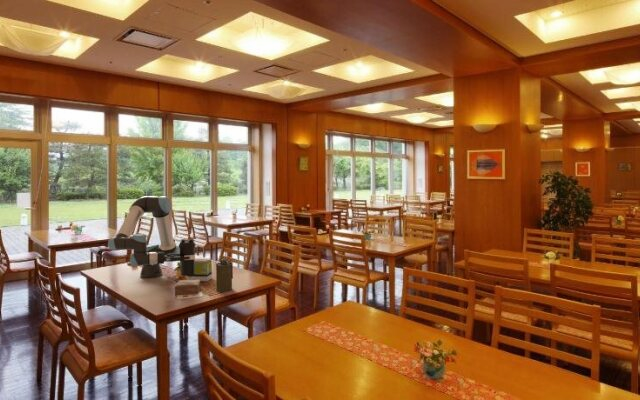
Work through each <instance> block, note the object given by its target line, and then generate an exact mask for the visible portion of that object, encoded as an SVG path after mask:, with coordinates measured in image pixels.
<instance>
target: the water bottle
mask: <svg viewBox="0 0 640 400" xmlns="http://www.w3.org/2000/svg"><path fill="white" fill-rule="evenodd" d="M178 246H179V249H180V256H186V255H195V256H196V242H195V240H194V238H191V239H189V238H181V239H180V242H179V244H178ZM195 259H196V258H195ZM195 259H193V260H184V261H179V267H180V276H183V277H187V276H191V275H194V274H195Z"/></svg>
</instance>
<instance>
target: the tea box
mask: <svg viewBox="0 0 640 400" xmlns="http://www.w3.org/2000/svg"><path fill="white" fill-rule="evenodd" d="M212 261H213V260H212V258H195V274H194V275H191V276H186V280H198V279H200V282H208V281H210V280H211V279H212V278H213V266H212V265H213V264H212Z"/></svg>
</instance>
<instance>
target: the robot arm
mask: <svg viewBox="0 0 640 400" xmlns="http://www.w3.org/2000/svg"><path fill="white" fill-rule="evenodd" d="M172 206H173V204H172V200H171V198H169V196H166V195H145V196H142V197H140V198H137V199H136V200H135V201H134V202H133V203H132V204H131V205H130V207H129V209H128V213H127V215H126V218H125V219H124V221H123V223H122V225H121V226H120V228H119V230H118V232H117V233H116V235H115V237H109V239H108V242H107V246H108V248H109V250H116V251H117V250H118V251H120V250H123V251H125V250H132V252H133V253H131V254H130V255H129V264H130V266H138V267H139V266H142V267H141V270H140V275H139V276H140V278H144V279H152V278H158V277H161V276H162V275H163V270H162V267H161V265H162V264H163V265H164V264H165V262H166V263H167V262H170V263H173V262H180V261H184V260H193V259H196V254H195V255H186V256H180V249H179V245H177V243H176V241H174V239H173V238H174V237H173V233H172V227H171V222H170V217H169V215H170V214H171V212H172V208H173V207H172ZM146 213H148V214H151V215H152V217H153V218H155V221H156V226H157V230H158V235H159V241H160V244H159V243H153V244H147V234H145V233H135V234H133V232H134V230H135V228H136V226H137V224H138V223H139V221H140V218H141V217H143V216H144V214H146ZM132 234H133V235H132ZM131 236H132V237H131Z"/></svg>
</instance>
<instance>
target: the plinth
mask: <svg viewBox="0 0 640 400" xmlns="http://www.w3.org/2000/svg"><path fill="white" fill-rule="evenodd" d="M201 282H202V281H200V279H198V280H187V279H182V280H181V279H180V280H177V282H176V284H175V286H174V296H175V297H177V295H194V294H198V293H199V292H201V286H202V285H201Z"/></svg>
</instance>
